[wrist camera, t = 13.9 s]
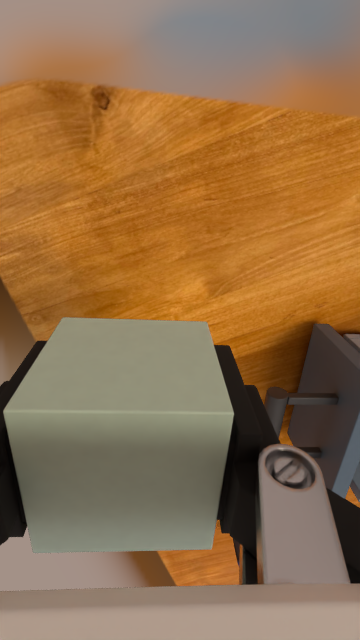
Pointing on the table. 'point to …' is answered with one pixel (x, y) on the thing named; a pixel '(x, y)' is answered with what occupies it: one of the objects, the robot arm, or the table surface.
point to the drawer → (326, 408)
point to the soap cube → (121, 437)
